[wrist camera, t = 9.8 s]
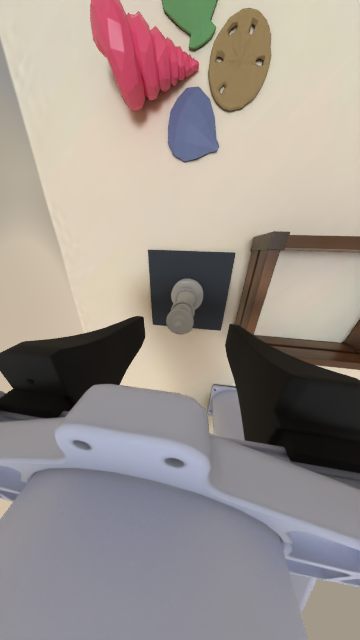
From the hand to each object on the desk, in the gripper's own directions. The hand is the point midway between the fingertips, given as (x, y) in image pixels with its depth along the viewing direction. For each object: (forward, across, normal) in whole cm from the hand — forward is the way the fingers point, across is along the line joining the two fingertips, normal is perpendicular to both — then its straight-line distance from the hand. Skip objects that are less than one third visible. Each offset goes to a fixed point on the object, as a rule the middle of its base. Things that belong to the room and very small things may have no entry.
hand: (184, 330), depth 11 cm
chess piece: (+10, 0, -1) cm, 10 cm away
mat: (+10, 0, -1) cm, 10 cm away
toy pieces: (+10, +1, -20) cm, 22 cm away
